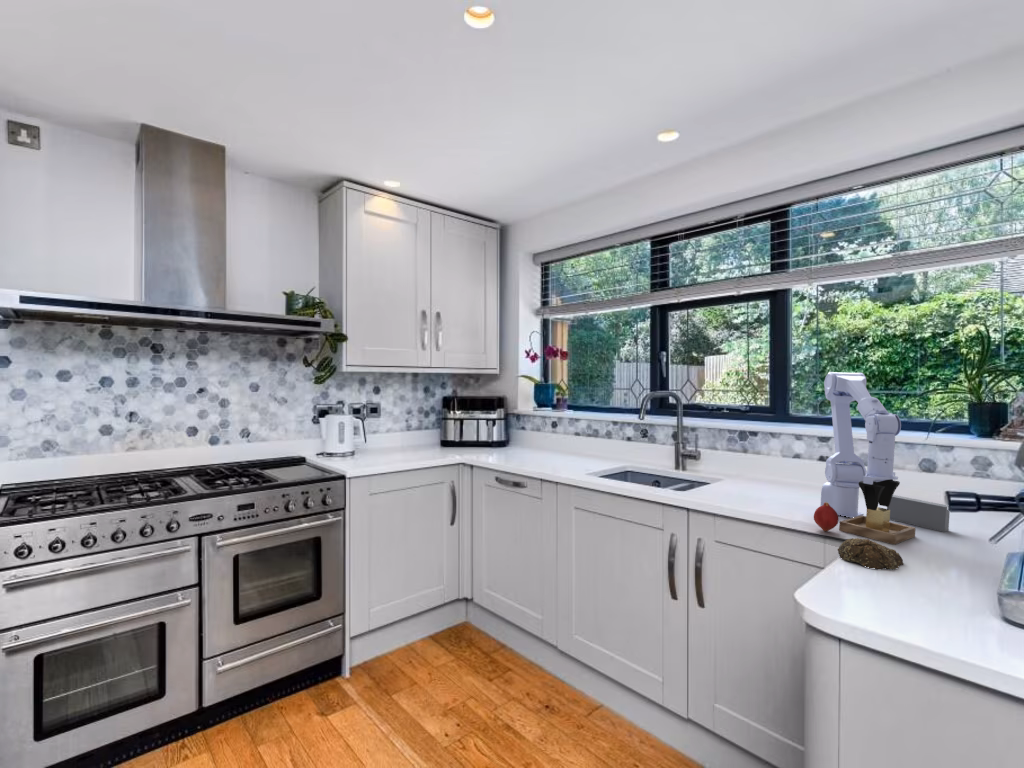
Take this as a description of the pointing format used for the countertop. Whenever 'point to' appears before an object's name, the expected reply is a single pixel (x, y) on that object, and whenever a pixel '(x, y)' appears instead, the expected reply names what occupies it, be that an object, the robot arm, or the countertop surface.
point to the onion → (826, 517)
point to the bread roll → (869, 554)
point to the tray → (893, 536)
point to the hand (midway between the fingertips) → (877, 507)
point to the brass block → (878, 519)
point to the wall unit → (919, 513)
